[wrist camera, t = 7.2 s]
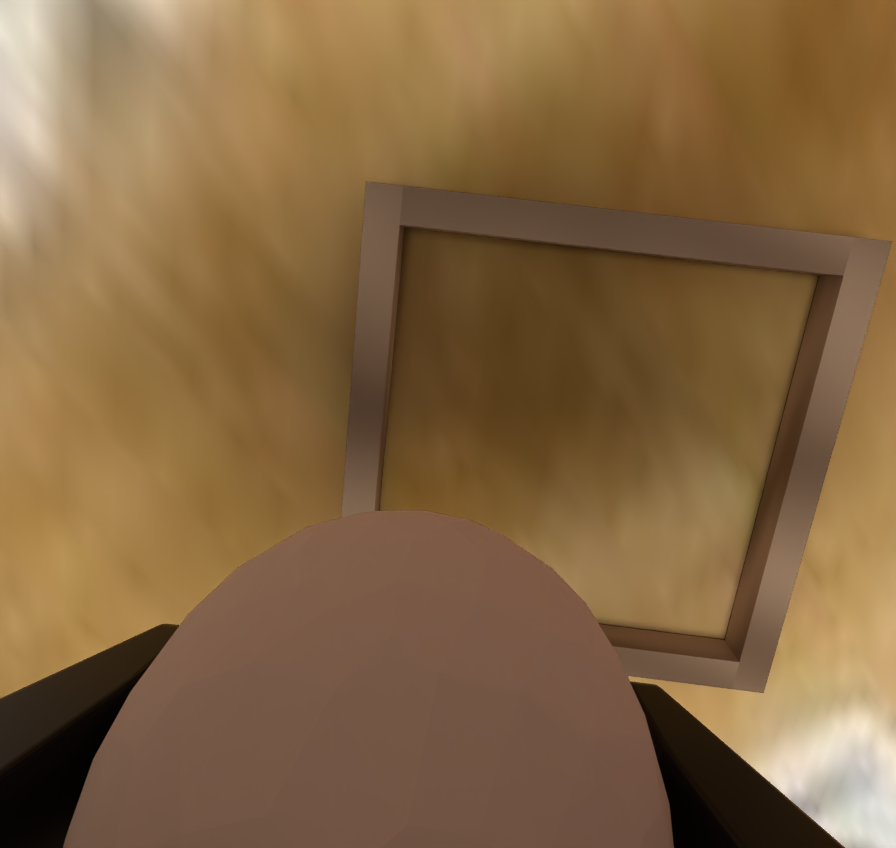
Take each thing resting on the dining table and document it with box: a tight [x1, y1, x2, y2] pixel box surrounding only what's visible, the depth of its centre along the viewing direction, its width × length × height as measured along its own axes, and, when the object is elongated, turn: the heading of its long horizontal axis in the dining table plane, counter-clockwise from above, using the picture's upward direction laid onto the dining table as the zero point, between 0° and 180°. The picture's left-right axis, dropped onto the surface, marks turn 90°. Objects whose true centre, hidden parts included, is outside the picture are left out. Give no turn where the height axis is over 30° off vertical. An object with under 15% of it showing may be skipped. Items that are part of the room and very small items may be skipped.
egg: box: [63, 510, 674, 848], centre depth 6 cm, size 5×5×7 cm
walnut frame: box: [341, 181, 892, 693], centre depth 19 cm, size 14×14×1 cm
